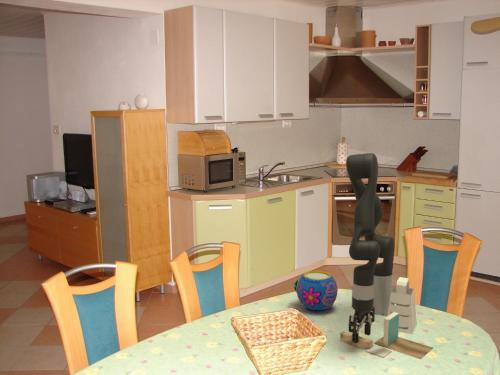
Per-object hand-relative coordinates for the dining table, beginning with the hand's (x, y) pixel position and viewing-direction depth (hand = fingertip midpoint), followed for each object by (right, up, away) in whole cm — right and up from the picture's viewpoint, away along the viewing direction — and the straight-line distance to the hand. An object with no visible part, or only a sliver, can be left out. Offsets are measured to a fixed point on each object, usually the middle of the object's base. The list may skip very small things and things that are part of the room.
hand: (361, 338), depth 190 cm
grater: (+19, -1, +17) cm, 26 cm away
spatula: (+1, -3, 0) cm, 4 cm away
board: (+15, -4, +1) cm, 16 cm away
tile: (+12, -2, +4) cm, 13 cm away
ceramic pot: (-11, +2, +39) cm, 40 cm away
